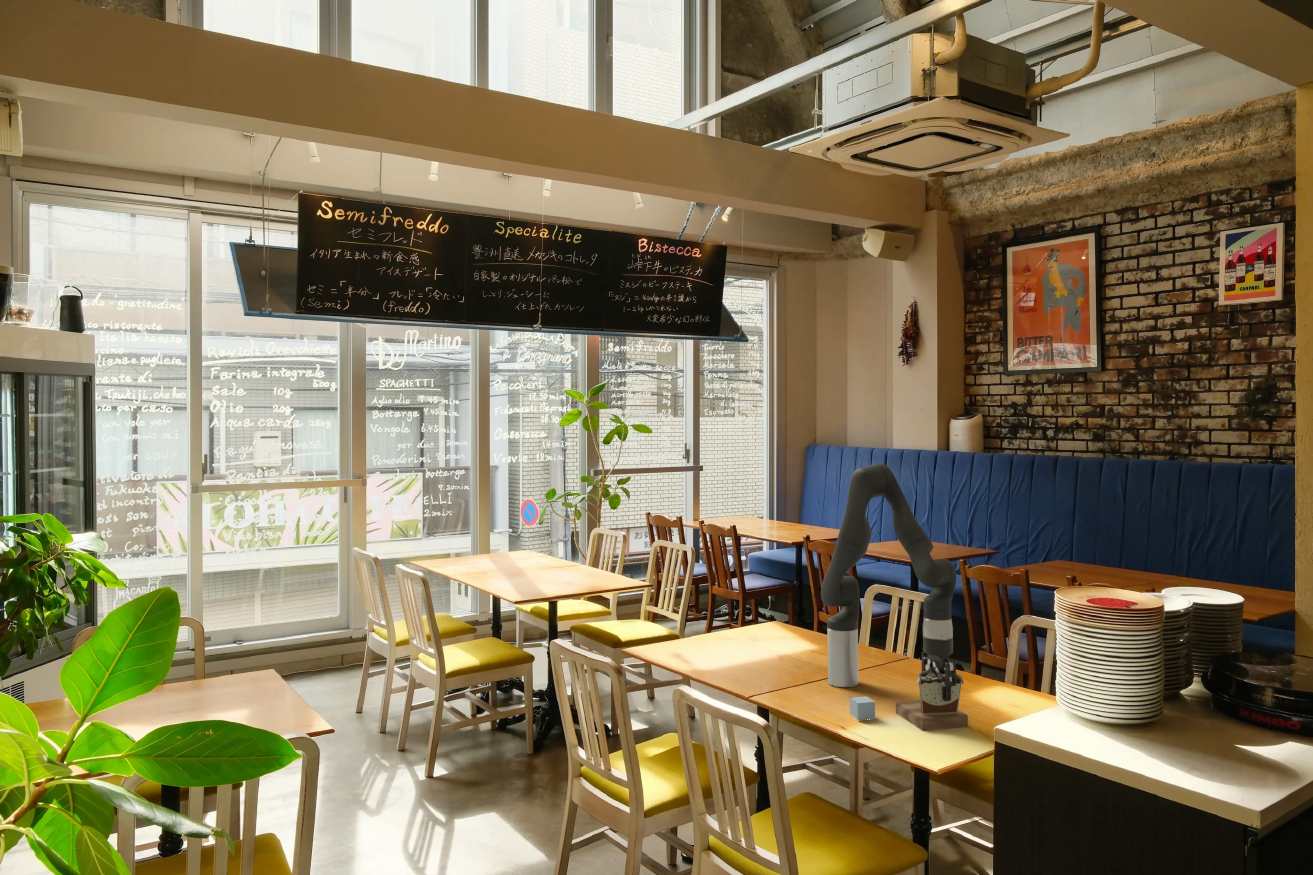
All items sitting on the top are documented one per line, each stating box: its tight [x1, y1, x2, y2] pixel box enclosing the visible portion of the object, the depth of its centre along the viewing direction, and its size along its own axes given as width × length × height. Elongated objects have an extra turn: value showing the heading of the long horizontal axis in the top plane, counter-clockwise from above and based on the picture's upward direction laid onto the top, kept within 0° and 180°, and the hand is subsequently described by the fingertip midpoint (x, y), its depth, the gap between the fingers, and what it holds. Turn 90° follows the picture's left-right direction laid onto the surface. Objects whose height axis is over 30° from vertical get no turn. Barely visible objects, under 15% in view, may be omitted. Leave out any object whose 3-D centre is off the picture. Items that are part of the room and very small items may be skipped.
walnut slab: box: [895, 699, 969, 731], centre depth 239 cm, size 15×13×3 cm
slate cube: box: [849, 696, 876, 721], centre depth 242 cm, size 5×5×5 cm
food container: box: [916, 670, 965, 714], centre depth 237 cm, size 12×6×10 cm, turn 92°
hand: (938, 696), depth 236 cm, fingers open, 8 cm apart
